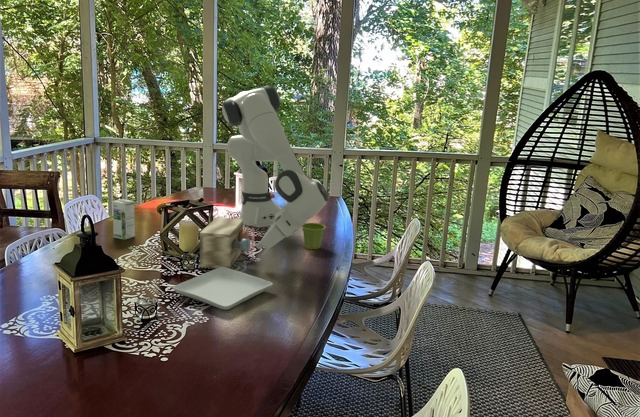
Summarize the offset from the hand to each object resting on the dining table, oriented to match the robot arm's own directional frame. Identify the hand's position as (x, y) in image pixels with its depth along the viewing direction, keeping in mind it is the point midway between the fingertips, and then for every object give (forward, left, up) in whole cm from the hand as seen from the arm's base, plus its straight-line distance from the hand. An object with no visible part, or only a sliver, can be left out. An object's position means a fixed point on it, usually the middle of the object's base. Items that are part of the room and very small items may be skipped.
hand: (258, 246), depth 165 cm
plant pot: (-26, -14, -7) cm, 31 cm away
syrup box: (+41, -43, -7) cm, 60 cm away
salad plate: (+16, +20, -7) cm, 27 cm away
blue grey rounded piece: (+6, -3, -2) cm, 7 cm away
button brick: (+4, -12, -2) cm, 13 cm away
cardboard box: (+10, -10, -7) cm, 16 cm away
